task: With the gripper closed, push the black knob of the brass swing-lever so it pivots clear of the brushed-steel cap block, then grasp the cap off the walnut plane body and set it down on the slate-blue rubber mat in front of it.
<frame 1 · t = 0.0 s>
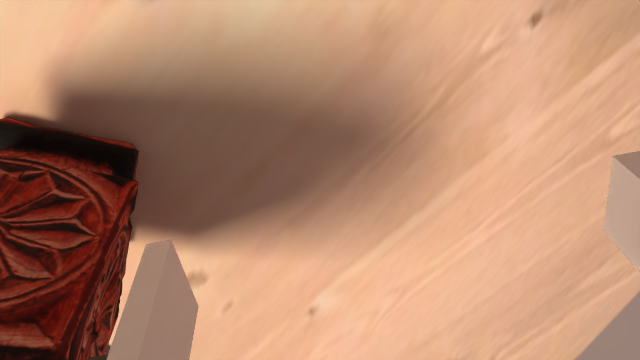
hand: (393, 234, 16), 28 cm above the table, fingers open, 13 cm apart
vase: (68, 184, 46), on the table
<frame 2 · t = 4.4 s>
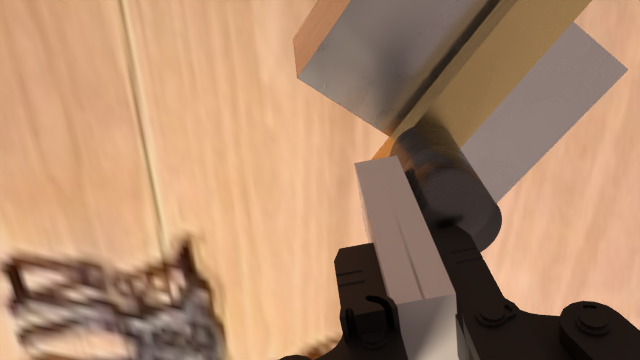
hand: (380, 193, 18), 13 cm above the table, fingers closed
lever: (549, 51, 16), point 13 cm above the table, hinge at 0.3°, touching gripper
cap: (431, 35, 23), point 4 cm above the table, touching plane body
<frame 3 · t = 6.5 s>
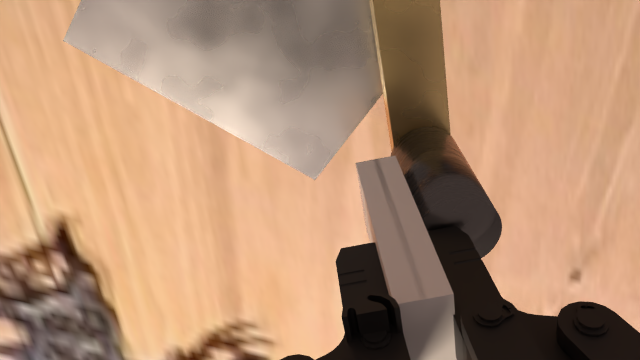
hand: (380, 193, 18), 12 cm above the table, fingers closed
lever: (420, 29, 15), point 13 cm above the table, hinge at 46.0°, touching gripper
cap: (256, 0, 22), point 4 cm above the table, touching plane body
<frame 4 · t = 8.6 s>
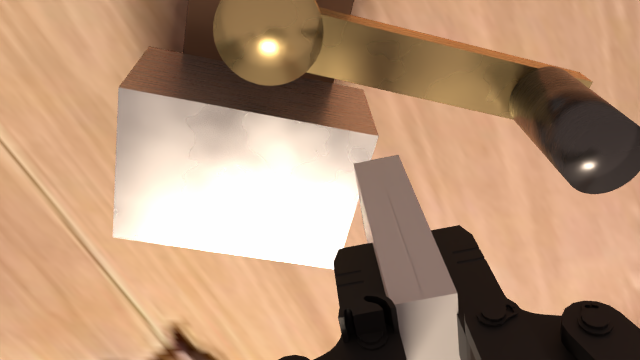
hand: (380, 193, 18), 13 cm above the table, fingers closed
plane body: (263, 40, 28), on the table
lever: (418, 85, 17), point 13 cm above the table, hinge at 88.6°
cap: (247, 135, 26), point 4 cm above the table, touching plane body
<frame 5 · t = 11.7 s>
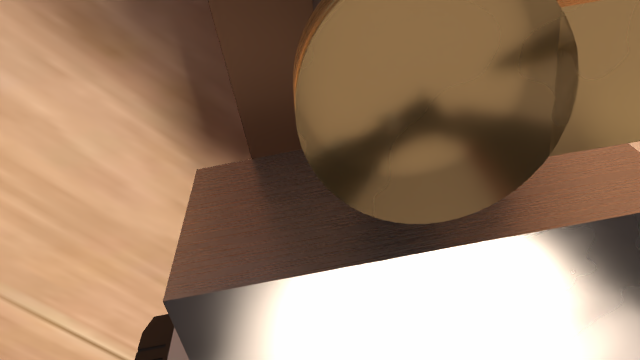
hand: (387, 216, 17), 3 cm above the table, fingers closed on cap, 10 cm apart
plane body: (358, 76, 18), on the table
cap: (395, 238, 16), point 5 cm above the table, touching gripper, plane body
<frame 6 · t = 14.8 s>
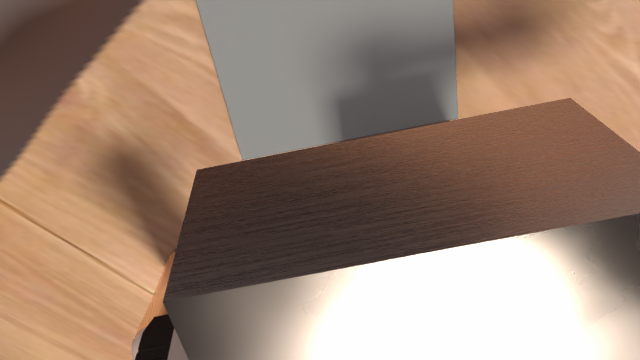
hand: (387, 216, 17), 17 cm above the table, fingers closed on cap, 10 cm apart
mat: (335, 54, 31), on the table
milkshake: (194, 260, 39), on the table
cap: (395, 238, 16), point 18 cm above the table, touching gripper
when the fingers open (1 cm above the table, at t = 18.1 s): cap drops 2 cm, resting on mat.
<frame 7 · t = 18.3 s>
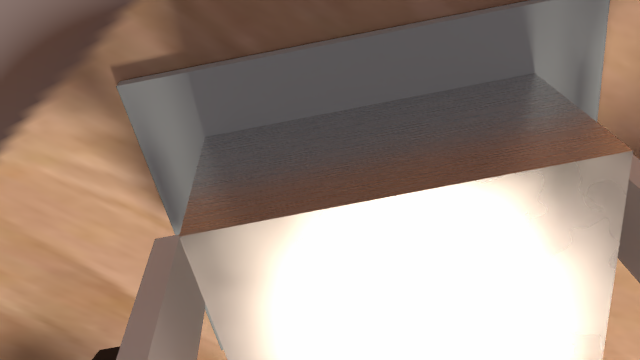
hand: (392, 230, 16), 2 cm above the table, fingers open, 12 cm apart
mat: (380, 193, 18), on the table
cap: (381, 201, 18), resting on mat
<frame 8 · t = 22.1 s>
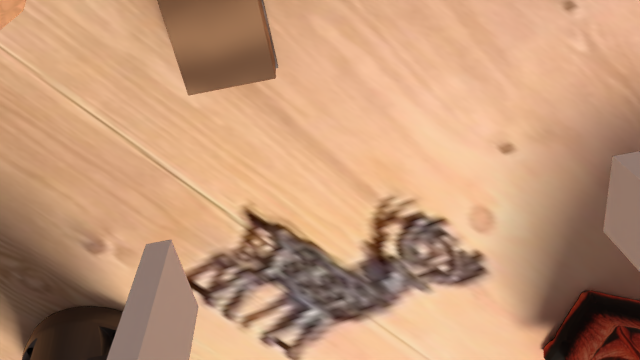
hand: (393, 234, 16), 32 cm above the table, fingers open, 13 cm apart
vase: (598, 326, 66), on the table
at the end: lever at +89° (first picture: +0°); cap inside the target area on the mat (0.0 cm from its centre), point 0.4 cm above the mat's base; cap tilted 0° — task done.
